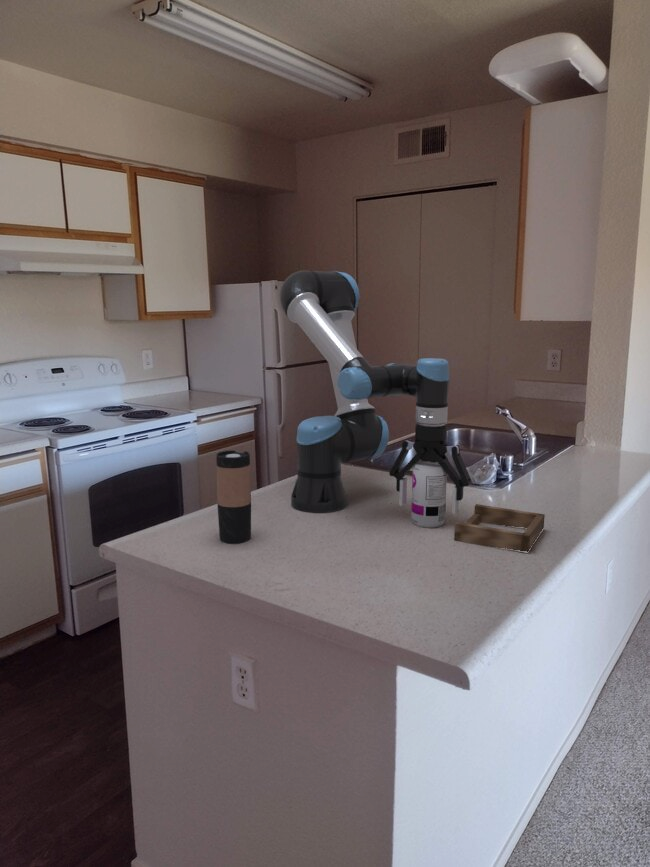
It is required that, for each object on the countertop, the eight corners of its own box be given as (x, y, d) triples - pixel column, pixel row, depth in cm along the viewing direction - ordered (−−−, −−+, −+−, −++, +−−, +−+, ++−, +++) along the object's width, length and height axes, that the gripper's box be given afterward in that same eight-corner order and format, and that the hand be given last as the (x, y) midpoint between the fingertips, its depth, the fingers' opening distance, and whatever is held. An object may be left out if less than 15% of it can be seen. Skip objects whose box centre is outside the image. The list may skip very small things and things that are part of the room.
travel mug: (224, 546, 144) (222, 459, 140) (214, 535, 151) (211, 452, 147) (256, 540, 148) (255, 455, 144) (245, 530, 154) (243, 448, 150)
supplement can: (407, 526, 157) (409, 466, 155) (416, 516, 165) (417, 458, 162) (440, 530, 154) (442, 469, 152) (447, 520, 162) (450, 461, 159)
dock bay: (454, 540, 148) (454, 523, 147) (475, 519, 162) (476, 504, 162) (527, 553, 140) (529, 536, 139) (543, 530, 155) (544, 514, 154)
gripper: (377, 421, 158) (375, 504, 162) (478, 431, 146) (473, 520, 150) (389, 416, 164) (388, 497, 168) (487, 425, 152) (482, 512, 156)
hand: (428, 508), depth 159 cm, fingers open, 13 cm apart
